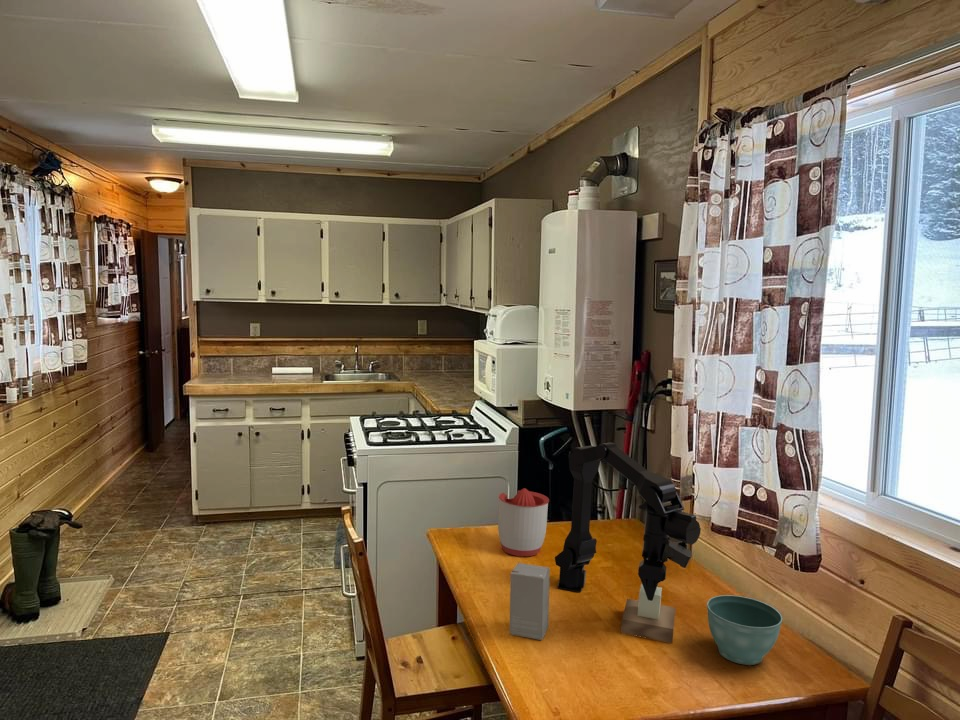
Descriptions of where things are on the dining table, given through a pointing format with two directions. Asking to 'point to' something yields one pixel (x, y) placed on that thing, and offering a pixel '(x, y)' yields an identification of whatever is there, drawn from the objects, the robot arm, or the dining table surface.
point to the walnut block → (648, 622)
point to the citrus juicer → (522, 522)
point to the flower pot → (743, 627)
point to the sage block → (649, 604)
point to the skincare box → (529, 601)
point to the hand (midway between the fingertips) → (651, 592)
